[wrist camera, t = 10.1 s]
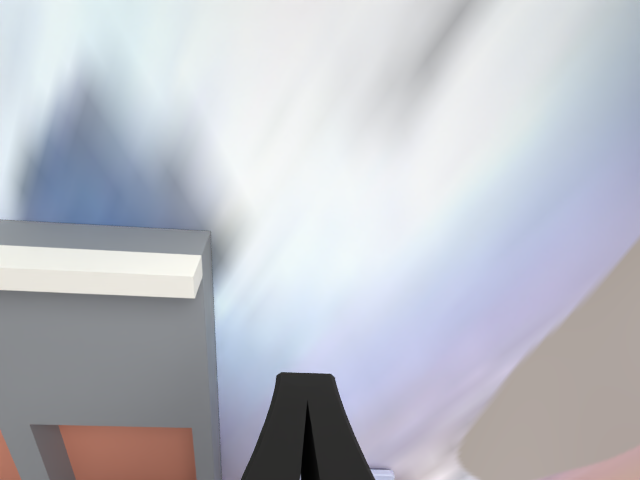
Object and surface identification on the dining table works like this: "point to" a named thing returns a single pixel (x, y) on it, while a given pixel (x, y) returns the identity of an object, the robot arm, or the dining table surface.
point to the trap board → (107, 353)
